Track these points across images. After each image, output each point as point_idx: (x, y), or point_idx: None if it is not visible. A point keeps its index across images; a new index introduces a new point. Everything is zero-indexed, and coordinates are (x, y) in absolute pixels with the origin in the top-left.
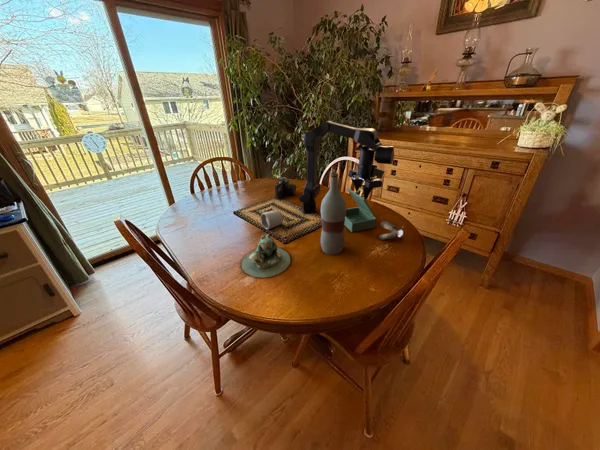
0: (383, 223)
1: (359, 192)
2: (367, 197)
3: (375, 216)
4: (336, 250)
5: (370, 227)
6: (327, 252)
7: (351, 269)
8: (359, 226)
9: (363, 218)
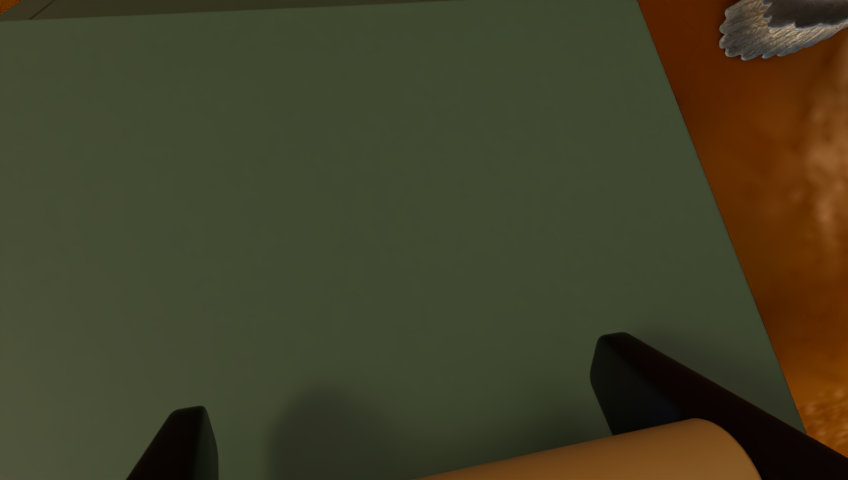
0: (831, 14)
1: (202, 475)
2: (672, 369)
3: (644, 31)
4: None
5: None
6: None
7: (829, 368)
8: None
9: None
